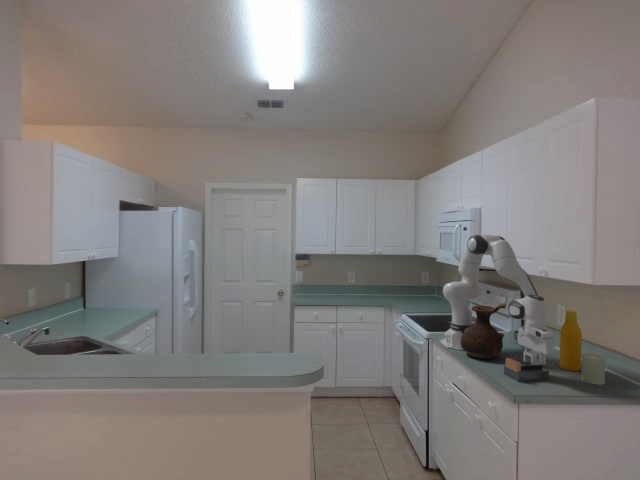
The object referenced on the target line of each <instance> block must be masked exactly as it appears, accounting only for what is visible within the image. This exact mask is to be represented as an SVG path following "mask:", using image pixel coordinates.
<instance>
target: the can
mask: <svg viewBox="0 0 640 480" xmlns="http://www.w3.org/2000/svg"><path fill="white" fill-rule="evenodd" d="M606 360H607V359H606V357H605V356H603V355H600V354H597V353H587V352H586V353H581V375H580V376H581V377H580V380H581V381H582V382H584V383H586V382H587V384H590V383H591V384H590V385H595V384H597V386H603V384H604V385H605V384H606Z"/></svg>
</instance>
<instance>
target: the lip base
mask: <svg viewBox="0 0 640 480" xmlns="http://www.w3.org/2000/svg"><path fill="white" fill-rule="evenodd" d="M543 365H544V364H542V365H531V363H528V364H527V363H526V364H522V363H521V362H519V361H517V360H515V359H513V358H511V357H506V358H505V365H503V375H505V376H507V377H508V378H510V379H513V380H514V381H516V382H519V383H521V382H536V381H546V380H547V381H549V380H550V371H549V370H547V369H545V368H544V367H543Z"/></svg>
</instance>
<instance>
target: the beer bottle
mask: <svg viewBox="0 0 640 480" xmlns="http://www.w3.org/2000/svg"><path fill="white" fill-rule="evenodd" d="M582 336H583V335H582V330H581V328H580V326H579V324H578V315H577V311H576V310H572V309H571V310H570V309H566V312H565V319H564V323H563V325H562V327H561V328H560V331H559V364H558V365H559V367H560V368H561V369H562V370H565V371H570V372H580V371H582V338H583V337H582Z"/></svg>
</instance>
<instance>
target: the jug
mask: <svg viewBox="0 0 640 480" xmlns="http://www.w3.org/2000/svg"><path fill="white" fill-rule="evenodd" d="M506 307H507V303H501V304H498V305H497V306H495V307H492V306H489V305H473V306H471V307H470V309H471V310H472V312H473V311H474V312H475V315H476V318H475V319H476V320H475V323H472V324H473V325H471V326H470V327H469V328H468V329H467V330H466V331H465V332H464V333H463V335H462V337H461V346H462V348H463V349H464V350H463V351H464V352H465V353H466V354H467V355H469V356H470V357H473V358H476V359H480V360H481V359H482V360H484V359H485V360H489V359H492V358H494V357H496V356H497V357H498V356H499V355H500V354H501V352H502V350H503V348H504V343H503V338H504V337H505V334H504V333H501V332H499V331H498V330H497V329H496V328H495V327H494V326H493V325H492V324H491V316H492V315H493V314H495V313H497V312H498V311H499V310H500V309H506Z"/></svg>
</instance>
